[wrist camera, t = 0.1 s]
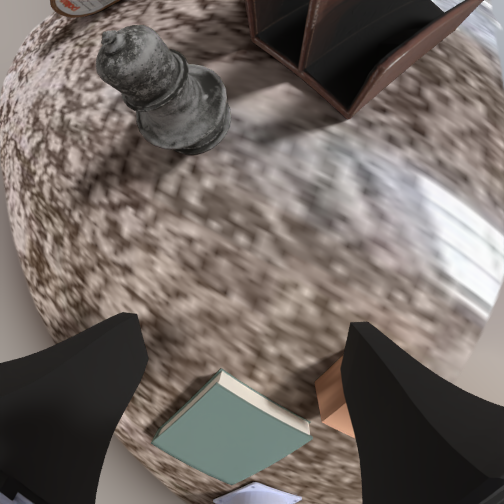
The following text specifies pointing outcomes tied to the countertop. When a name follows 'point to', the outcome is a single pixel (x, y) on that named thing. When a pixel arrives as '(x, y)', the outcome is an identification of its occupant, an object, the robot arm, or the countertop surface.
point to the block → (333, 400)
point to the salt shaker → (165, 90)
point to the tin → (80, 7)
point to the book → (231, 430)
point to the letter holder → (351, 41)
